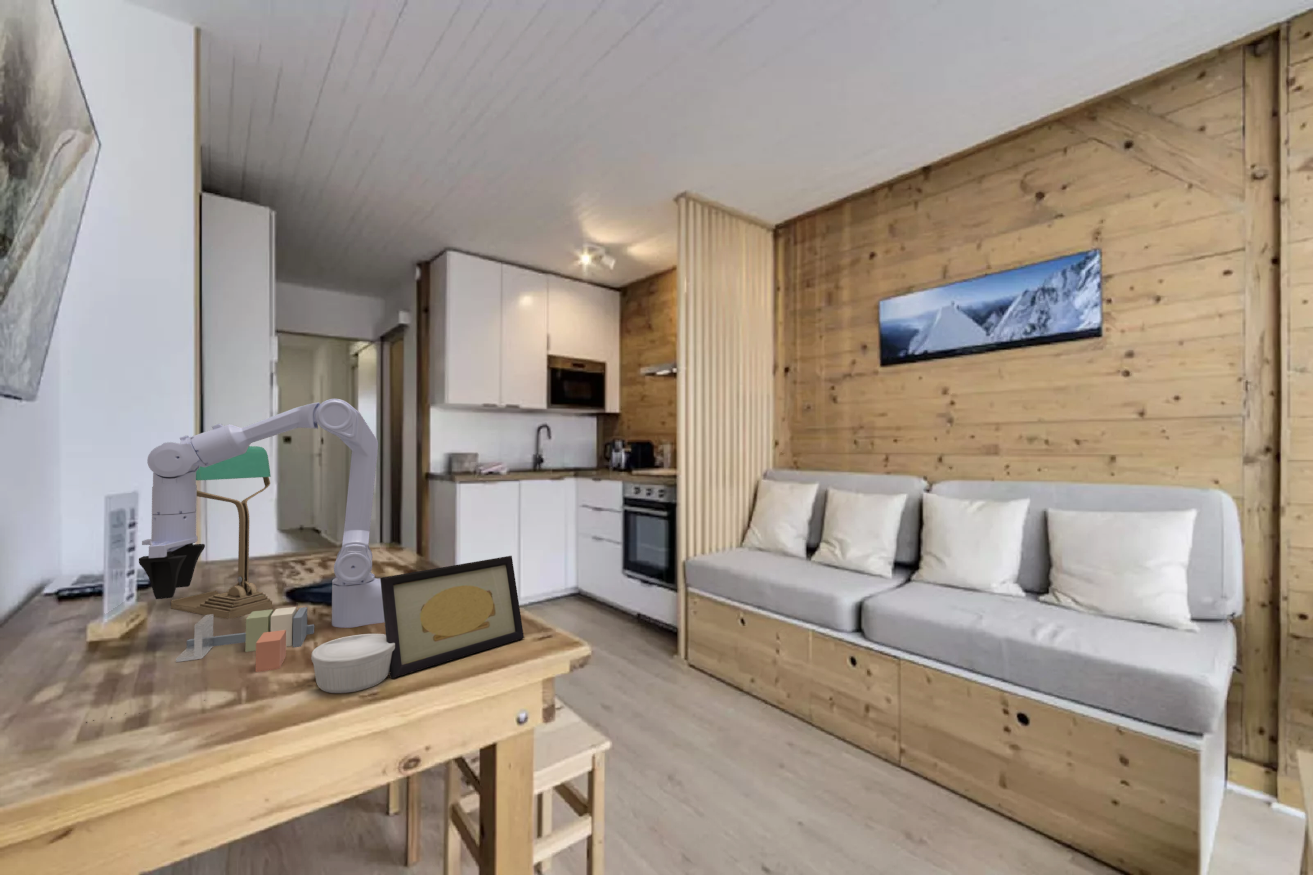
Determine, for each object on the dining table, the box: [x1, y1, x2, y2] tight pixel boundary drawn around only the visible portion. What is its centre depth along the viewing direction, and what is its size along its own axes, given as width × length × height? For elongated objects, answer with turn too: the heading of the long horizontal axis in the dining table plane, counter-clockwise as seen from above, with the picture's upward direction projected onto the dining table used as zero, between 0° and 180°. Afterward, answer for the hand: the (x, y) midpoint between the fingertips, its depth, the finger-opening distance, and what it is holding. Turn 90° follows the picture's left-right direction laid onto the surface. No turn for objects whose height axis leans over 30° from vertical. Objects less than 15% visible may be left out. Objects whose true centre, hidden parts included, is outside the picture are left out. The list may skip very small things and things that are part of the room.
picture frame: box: [379, 555, 525, 679], centre depth 93 cm, size 23×9×15 cm, turn 137°
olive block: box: [244, 608, 274, 653], centre depth 91 cm, size 3×4×6 cm
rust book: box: [255, 630, 287, 673], centre depth 84 cm, size 3×5×6 cm, turn 26°
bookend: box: [175, 614, 214, 663], centre depth 87 cm, size 3×6×6 cm, turn 26°
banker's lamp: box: [170, 445, 273, 620], centre depth 116 cm, size 16×21×35 cm
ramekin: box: [310, 633, 395, 694], centre depth 81 cm, size 11×11×5 cm
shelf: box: [186, 606, 315, 648], centre depth 90 cm, size 18×8×6 cm, turn 116°
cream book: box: [271, 606, 298, 648], centre depth 93 cm, size 3×4×6 cm
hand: (173, 592), depth 92 cm, fingers open, 7 cm apart
